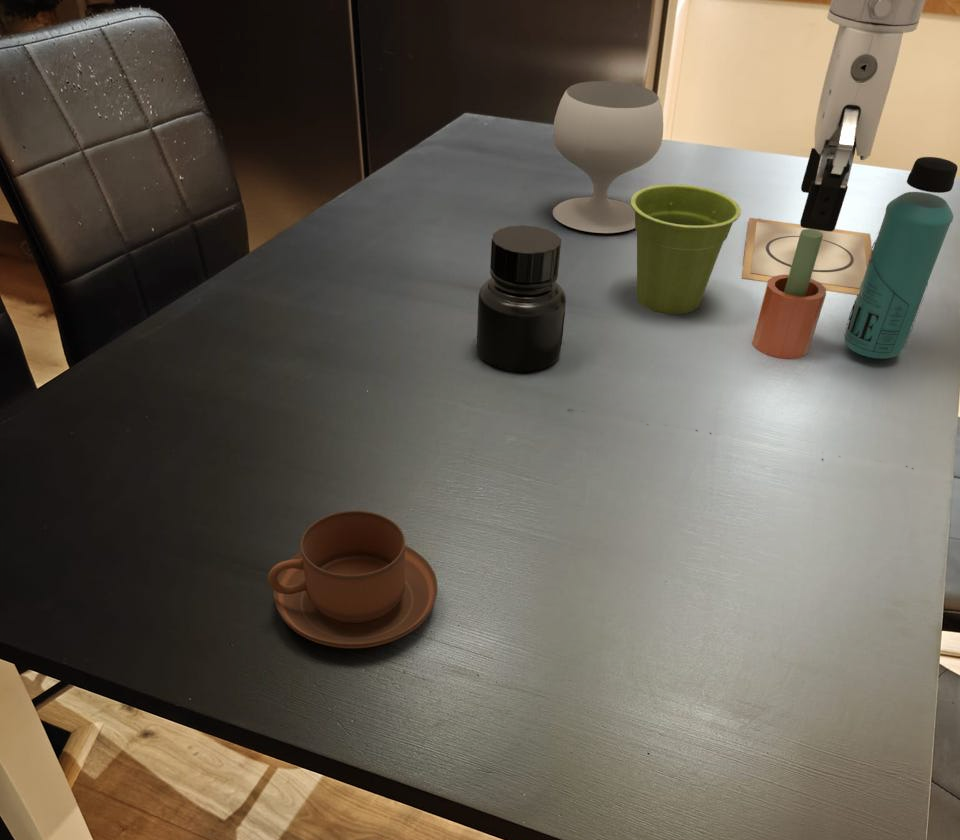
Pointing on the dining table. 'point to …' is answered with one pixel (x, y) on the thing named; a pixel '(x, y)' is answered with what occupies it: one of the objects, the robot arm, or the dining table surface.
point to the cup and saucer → (354, 582)
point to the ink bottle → (522, 300)
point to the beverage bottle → (902, 262)
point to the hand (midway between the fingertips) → (816, 210)
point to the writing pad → (834, 264)
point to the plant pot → (678, 243)
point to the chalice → (605, 147)
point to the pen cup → (787, 319)
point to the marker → (803, 262)
